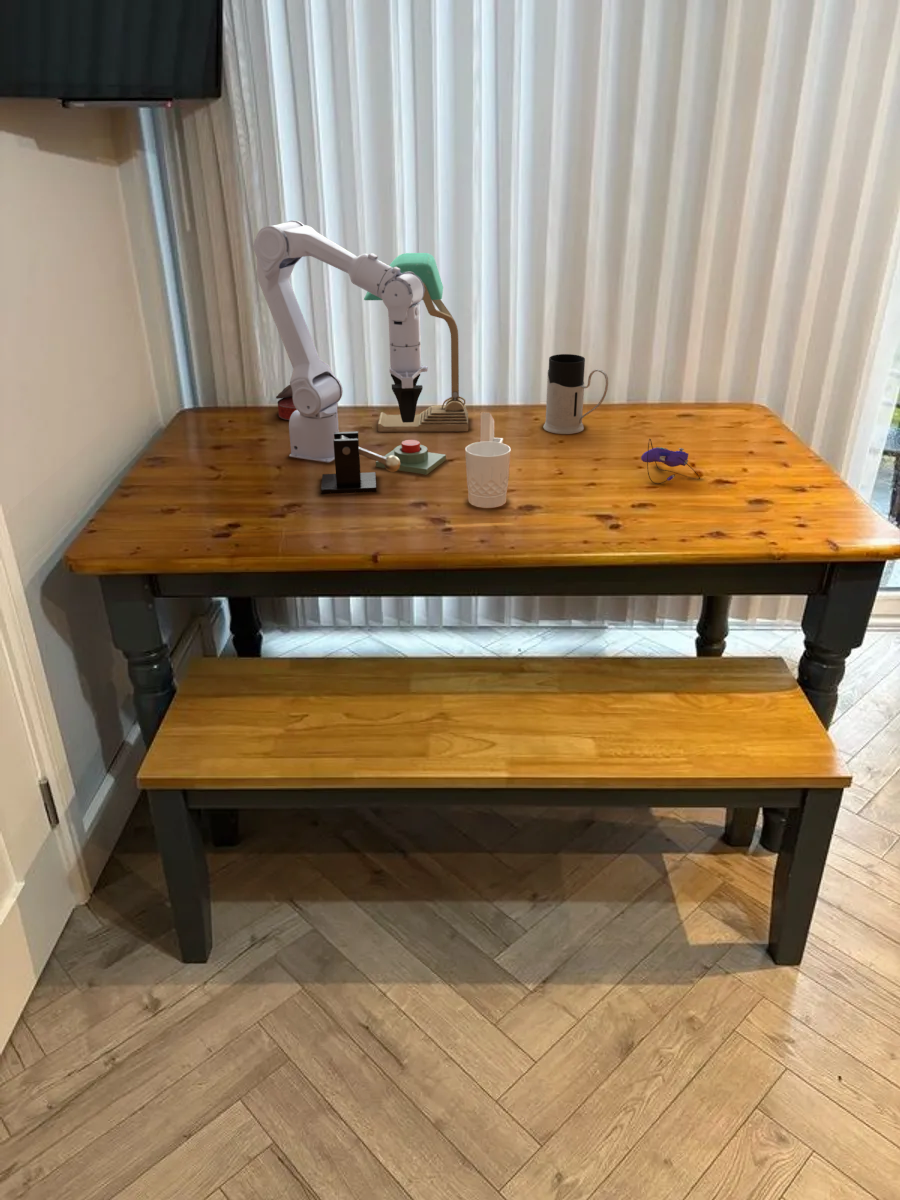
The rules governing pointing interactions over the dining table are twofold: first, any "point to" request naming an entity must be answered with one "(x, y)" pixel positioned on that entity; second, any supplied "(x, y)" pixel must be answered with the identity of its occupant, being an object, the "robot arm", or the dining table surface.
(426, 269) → the banker's lamp
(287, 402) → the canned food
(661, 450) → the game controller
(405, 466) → the switch box
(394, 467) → the lever
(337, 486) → the switch bracket
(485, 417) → the white wedge bracket
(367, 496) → the dining table surface
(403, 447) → the button
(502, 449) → the white cup
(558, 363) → the glass holder
